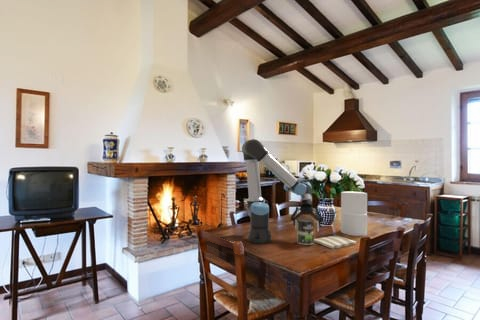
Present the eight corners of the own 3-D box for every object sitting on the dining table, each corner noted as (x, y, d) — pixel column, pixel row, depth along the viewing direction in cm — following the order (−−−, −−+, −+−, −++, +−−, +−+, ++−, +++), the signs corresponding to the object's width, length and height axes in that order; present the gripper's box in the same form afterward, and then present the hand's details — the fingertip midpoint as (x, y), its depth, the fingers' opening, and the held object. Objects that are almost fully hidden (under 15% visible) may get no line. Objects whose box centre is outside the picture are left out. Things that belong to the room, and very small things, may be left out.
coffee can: (316, 244, 179) (317, 221, 178) (301, 245, 176) (301, 222, 176) (308, 239, 189) (308, 217, 188) (294, 240, 186) (294, 218, 186)
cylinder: (339, 228, 218) (340, 191, 217) (364, 230, 213) (365, 191, 213) (341, 234, 201) (342, 194, 201) (368, 236, 197) (369, 195, 196)
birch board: (332, 248, 170) (332, 246, 170) (313, 241, 184) (313, 239, 184) (356, 244, 180) (356, 241, 180) (336, 237, 194) (336, 235, 194)
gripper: (325, 206, 197) (327, 234, 183) (287, 204, 202) (286, 232, 187) (326, 199, 192) (328, 228, 177) (287, 198, 196) (286, 226, 182)
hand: (306, 230), depth 182 cm, fingers open, 13 cm apart
